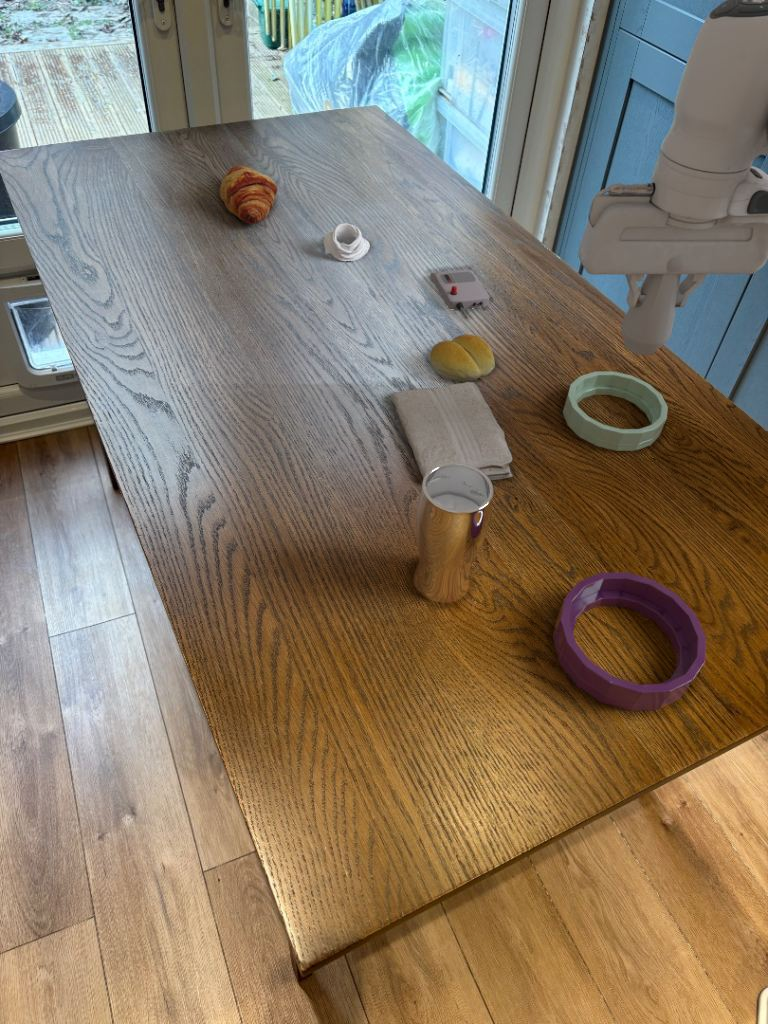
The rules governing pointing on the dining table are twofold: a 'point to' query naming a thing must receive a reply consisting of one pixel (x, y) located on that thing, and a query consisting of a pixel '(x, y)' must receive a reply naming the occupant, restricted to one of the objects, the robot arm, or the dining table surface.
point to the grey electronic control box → (460, 290)
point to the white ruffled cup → (343, 236)
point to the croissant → (248, 193)
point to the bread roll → (462, 358)
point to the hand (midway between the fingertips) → (654, 304)
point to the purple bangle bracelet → (653, 605)
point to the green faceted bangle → (622, 388)
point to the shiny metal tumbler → (450, 528)
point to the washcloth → (453, 429)
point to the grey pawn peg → (653, 311)
